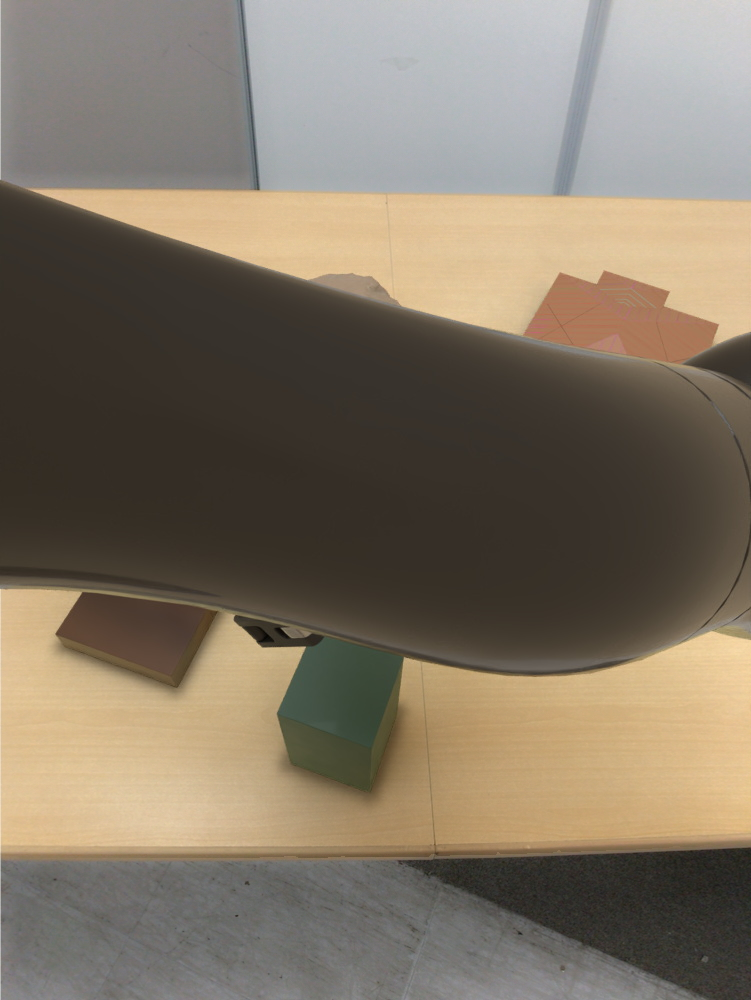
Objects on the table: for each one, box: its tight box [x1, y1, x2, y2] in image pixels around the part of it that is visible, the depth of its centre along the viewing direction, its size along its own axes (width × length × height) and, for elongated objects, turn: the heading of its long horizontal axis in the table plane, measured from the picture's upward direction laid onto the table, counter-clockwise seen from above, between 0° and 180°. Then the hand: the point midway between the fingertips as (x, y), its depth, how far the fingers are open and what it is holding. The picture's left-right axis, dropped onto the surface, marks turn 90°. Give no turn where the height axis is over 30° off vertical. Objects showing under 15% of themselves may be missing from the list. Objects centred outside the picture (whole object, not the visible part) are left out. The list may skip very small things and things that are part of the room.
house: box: [522, 269, 720, 364], centre depth 96 cm, size 23×33×8 cm
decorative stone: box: [308, 272, 402, 306], centre depth 98 cm, size 20×8×10 cm, turn 66°
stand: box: [276, 637, 405, 794], centre depth 66 cm, size 8×8×14 cm
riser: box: [55, 592, 218, 688], centre depth 77 cm, size 24×13×11 cm, turn 160°
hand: (272, 549), depth 50 cm, fingers open, 8 cm apart
